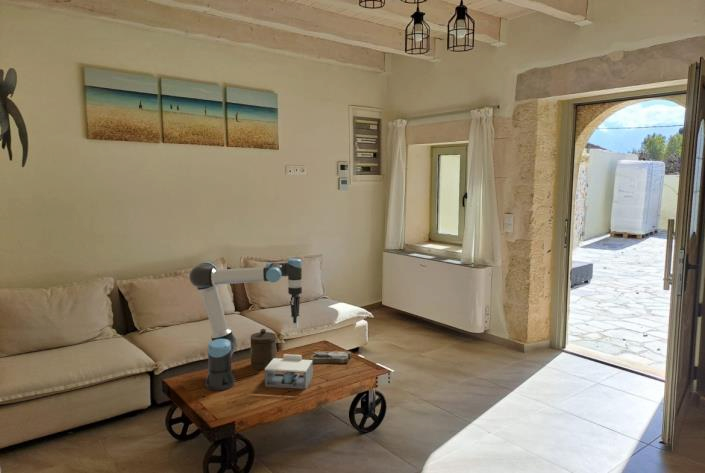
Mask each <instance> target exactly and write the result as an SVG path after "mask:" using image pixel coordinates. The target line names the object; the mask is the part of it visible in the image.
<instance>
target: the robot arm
mask: <svg viewBox="0 0 705 473" xmlns="http://www.w3.org/2000/svg"><path fill="white" fill-rule="evenodd" d="M265 264H266V265H265V266H264V267H261V266H260V267H245V268H231V269H229V268H227V269H218V268H217V266H216V265H215V264H214V263H212V262H208V261H206V262H205V261H204V262H200V263H198V264H197V265H196V266H194V267H193V268H192V269H191V270H190V272H189V276H188V277H189V281H190V283H191V285H193V286H194V287H196V288H197V291H199V292H201V296H202V298H203V302H204V307H205V309H206V313H207V317H208V321H209V324H210V328H211V331H212V334H211V335H210V338H211V341H210V342H209V343H208V346H207V358H208V362H207V363H208V365H207V366H208V373H207V377H206V380H205V388H206V389H207V390H210V391H225V390H228V389H230V388H232V387H234V386H235V384H236V379H235V376H234V373H233V371H232V356H233V355H234V352H235V351H236V348H237V346H238V345H237V344H238V342H237V341H238V340H237V338H236V337H235V334H233V331H232V329H231V328H229V327H228V323H227V320H226V315H225V311H224V308H223V305H222V301H221V298H220V297H221V296H220V293H219V290H218V289H219V288H218V287H219V285H227V284H228V285H229V284H243V283H259V282H270V283H276V282H279V281H280V279H281V278H282V277H287V286H288V287H287V289H288V290H287V293H288V294H289V295H291V297H290V302H289V303H290V312H291V316H290V317H291V318H292V329H299V317H300V300H301V296H300V295H301V294H303V288H302V287H303V284H302V283H303V282H304V281H303V279H302V278H303V274H302V273H303V271H302V260H301V259H300V258H289V259H288V260H287V262H268V263H265Z"/></svg>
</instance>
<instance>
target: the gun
mask: <svg viewBox="0 0 705 473" xmlns="http://www.w3.org/2000/svg"><path fill="white" fill-rule="evenodd" d="M351 358H352V351H339V350H338V351H334V350H331V351H330V350H329V351H324V350H323V351H322V350H319V351H318V350H317V351H315V352H314V351H313V352H312V355H310V356H309V360H313V365H315V364H322V363H323V364H348V363H349V362H348V361H349V359H351Z"/></svg>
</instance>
